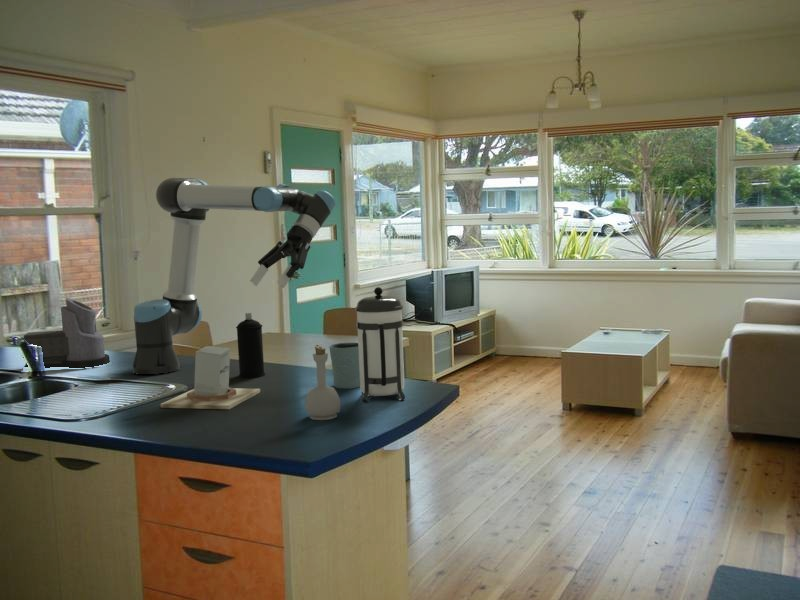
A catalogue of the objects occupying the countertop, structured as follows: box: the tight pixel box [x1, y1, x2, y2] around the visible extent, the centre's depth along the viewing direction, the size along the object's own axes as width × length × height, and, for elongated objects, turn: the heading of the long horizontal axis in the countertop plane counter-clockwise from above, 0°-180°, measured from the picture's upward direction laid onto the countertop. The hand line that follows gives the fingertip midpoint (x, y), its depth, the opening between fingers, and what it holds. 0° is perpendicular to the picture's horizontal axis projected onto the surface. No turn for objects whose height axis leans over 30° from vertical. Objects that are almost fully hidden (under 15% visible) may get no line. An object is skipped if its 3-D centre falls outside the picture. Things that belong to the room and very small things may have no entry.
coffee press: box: [354, 286, 406, 403], centre depth 215 cm, size 17×16×30 cm
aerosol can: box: [235, 312, 266, 379], centre depth 254 cm, size 8×8×20 cm
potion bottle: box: [304, 344, 342, 421], centre depth 198 cm, size 9×9×18 cm
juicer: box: [22, 297, 111, 368], centre depth 282 cm, size 30×16×24 cm, turn 103°
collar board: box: [160, 386, 261, 410], centre depth 222 cm, size 20×20×2 cm
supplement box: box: [193, 345, 231, 396], centre depth 221 cm, size 7×7×13 cm
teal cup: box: [329, 342, 360, 389], centre depth 234 cm, size 10×10×12 cm
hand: (266, 284), depth 243 cm, fingers open, 13 cm apart
